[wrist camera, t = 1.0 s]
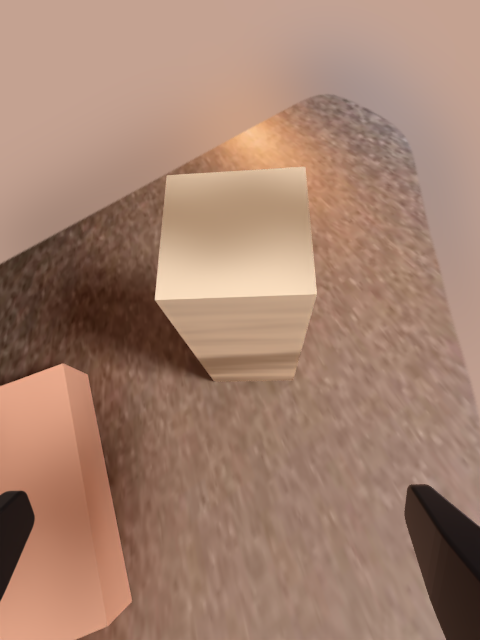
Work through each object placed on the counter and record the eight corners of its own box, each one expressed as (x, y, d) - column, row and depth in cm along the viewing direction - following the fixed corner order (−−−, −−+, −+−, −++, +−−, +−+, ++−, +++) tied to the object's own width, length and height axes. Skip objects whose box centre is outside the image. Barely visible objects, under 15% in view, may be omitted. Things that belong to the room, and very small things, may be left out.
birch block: (292, 380, 22) (316, 294, 11) (214, 381, 23) (154, 300, 11) (288, 307, 24) (305, 166, 12) (216, 310, 24) (166, 175, 13)
